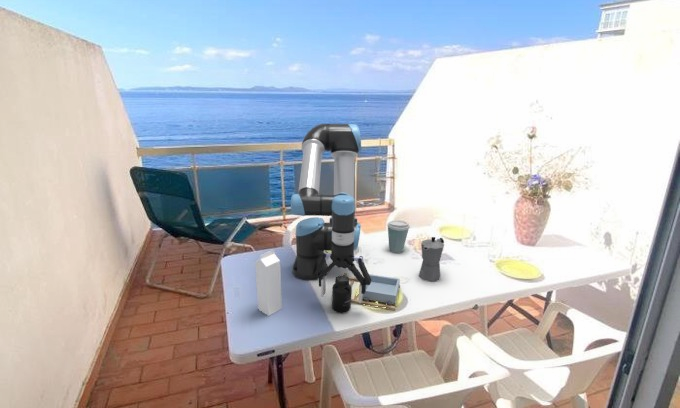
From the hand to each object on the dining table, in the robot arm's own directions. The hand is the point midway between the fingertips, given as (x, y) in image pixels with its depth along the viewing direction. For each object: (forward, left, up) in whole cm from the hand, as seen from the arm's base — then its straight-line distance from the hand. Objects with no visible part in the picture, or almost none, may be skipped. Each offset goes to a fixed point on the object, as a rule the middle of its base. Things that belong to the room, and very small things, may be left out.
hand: (341, 297), depth 121 cm
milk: (-24, -8, -5) cm, 26 cm away
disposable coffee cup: (+13, +55, -5) cm, 57 cm away
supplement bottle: (0, 0, -5) cm, 5 cm away
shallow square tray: (+12, +13, -4) cm, 18 cm away
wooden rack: (+7, +13, -4) cm, 16 cm away
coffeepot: (+30, +34, -5) cm, 46 cm away
